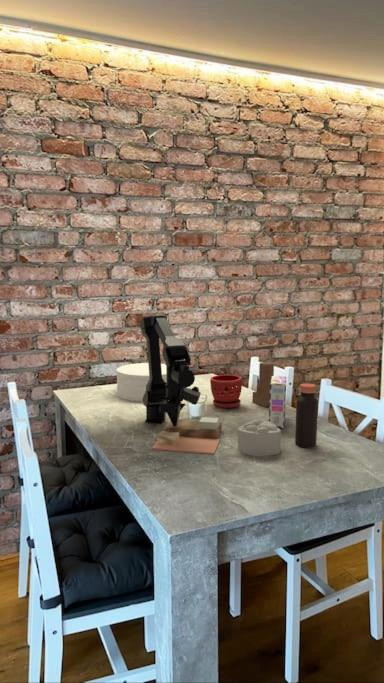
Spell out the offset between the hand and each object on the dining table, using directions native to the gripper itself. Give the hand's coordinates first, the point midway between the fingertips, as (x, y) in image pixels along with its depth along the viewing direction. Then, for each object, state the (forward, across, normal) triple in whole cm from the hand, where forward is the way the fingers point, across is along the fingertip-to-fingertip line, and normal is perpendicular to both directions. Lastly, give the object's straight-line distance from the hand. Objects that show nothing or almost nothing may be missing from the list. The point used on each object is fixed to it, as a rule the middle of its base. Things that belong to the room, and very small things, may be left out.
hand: (175, 425), depth 170 cm
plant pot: (+4, +44, -12) cm, 46 cm away
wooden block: (+4, +49, -27) cm, 56 cm away
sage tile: (+1, +5, -11) cm, 12 cm away
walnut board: (+4, +6, -5) cm, 9 cm away
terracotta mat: (+4, -6, -5) cm, 9 cm away
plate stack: (+4, +56, +26) cm, 62 cm away
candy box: (+4, +25, -34) cm, 42 cm away
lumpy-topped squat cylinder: (+4, -5, -28) cm, 29 cm away
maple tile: (+1, -6, +1) cm, 6 cm away
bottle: (+4, +3, -43) cm, 44 cm away
